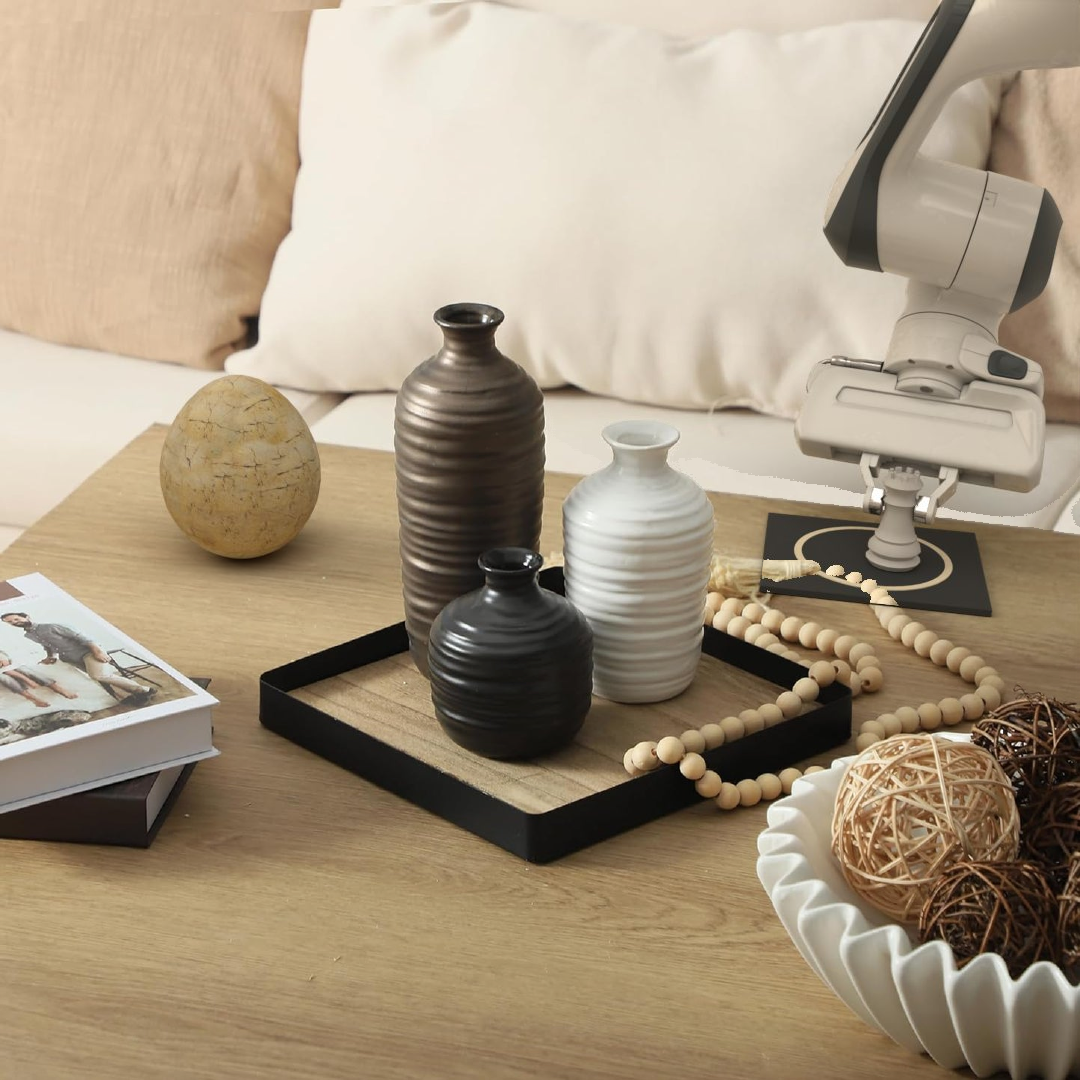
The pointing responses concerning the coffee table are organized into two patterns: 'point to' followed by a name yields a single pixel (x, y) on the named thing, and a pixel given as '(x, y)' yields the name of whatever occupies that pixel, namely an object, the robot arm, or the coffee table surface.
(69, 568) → the coffee table surface
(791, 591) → the black circle mat
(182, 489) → the fossilized egg
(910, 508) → the rook chess piece
